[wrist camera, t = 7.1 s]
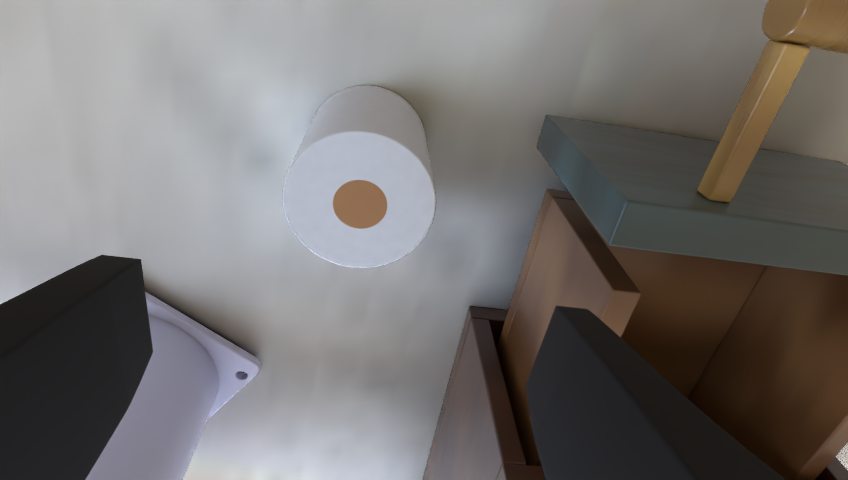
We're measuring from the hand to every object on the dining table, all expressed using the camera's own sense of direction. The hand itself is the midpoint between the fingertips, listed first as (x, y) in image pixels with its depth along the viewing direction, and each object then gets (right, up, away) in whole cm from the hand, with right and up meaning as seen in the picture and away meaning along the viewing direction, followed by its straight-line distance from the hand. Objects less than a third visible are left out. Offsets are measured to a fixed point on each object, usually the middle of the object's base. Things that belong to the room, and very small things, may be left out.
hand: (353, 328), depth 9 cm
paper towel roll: (-1, +5, +9) cm, 10 cm away
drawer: (+10, +1, +11) cm, 15 cm away
